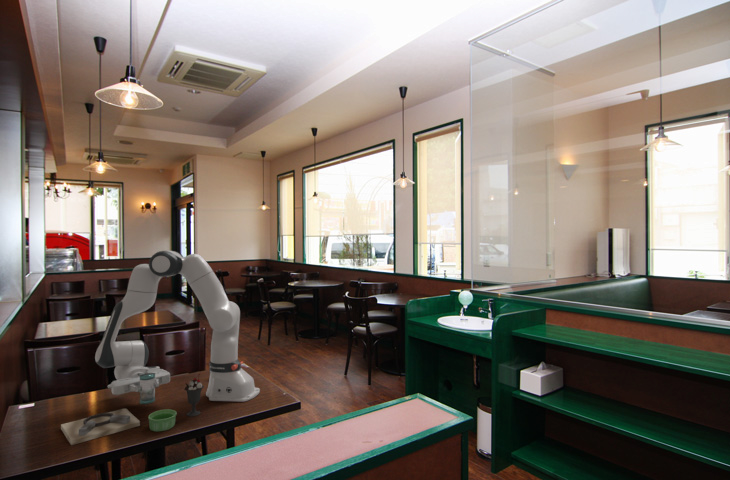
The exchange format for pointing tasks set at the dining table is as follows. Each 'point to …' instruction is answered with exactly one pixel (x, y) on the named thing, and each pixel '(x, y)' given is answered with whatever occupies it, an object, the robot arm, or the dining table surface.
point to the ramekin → (162, 420)
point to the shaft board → (99, 426)
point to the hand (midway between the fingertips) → (148, 387)
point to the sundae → (194, 395)
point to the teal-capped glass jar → (147, 388)
